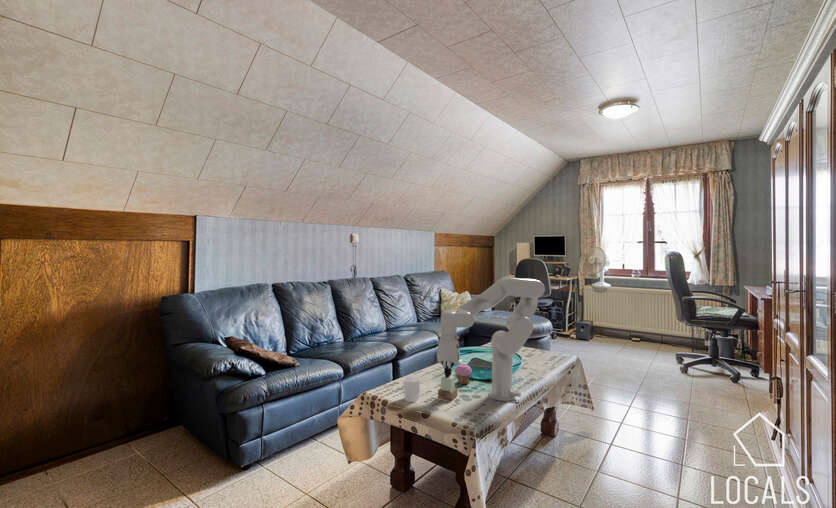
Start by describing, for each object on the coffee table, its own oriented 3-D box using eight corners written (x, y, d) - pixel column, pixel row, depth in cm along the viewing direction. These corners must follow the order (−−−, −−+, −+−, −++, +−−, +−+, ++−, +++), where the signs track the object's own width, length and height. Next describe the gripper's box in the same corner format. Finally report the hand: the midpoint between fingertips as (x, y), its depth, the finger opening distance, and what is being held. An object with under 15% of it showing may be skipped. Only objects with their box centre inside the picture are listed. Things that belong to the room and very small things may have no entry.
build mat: (469, 397, 187) (469, 396, 187) (461, 406, 177) (461, 405, 176) (435, 391, 195) (435, 390, 195) (425, 399, 185) (425, 398, 185)
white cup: (418, 404, 179) (418, 382, 179) (401, 402, 180) (401, 381, 180) (421, 397, 186) (421, 376, 186) (405, 396, 188) (405, 375, 188)
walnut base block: (457, 396, 187) (457, 388, 187) (451, 401, 181) (451, 392, 181) (443, 393, 191) (443, 385, 191) (437, 398, 184) (438, 390, 184)
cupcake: (458, 386, 202) (458, 367, 202) (452, 381, 211) (452, 362, 211) (474, 385, 205) (474, 366, 205) (467, 379, 213) (467, 361, 213)
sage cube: (454, 388, 187) (454, 375, 187) (450, 391, 182) (451, 378, 182) (444, 386, 189) (445, 374, 189) (440, 389, 185) (441, 377, 185)
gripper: (466, 337, 186) (465, 376, 186) (437, 334, 192) (436, 371, 192) (460, 340, 179) (459, 380, 179) (430, 337, 186) (430, 375, 186)
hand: (447, 375), depth 186 cm, fingers closed
